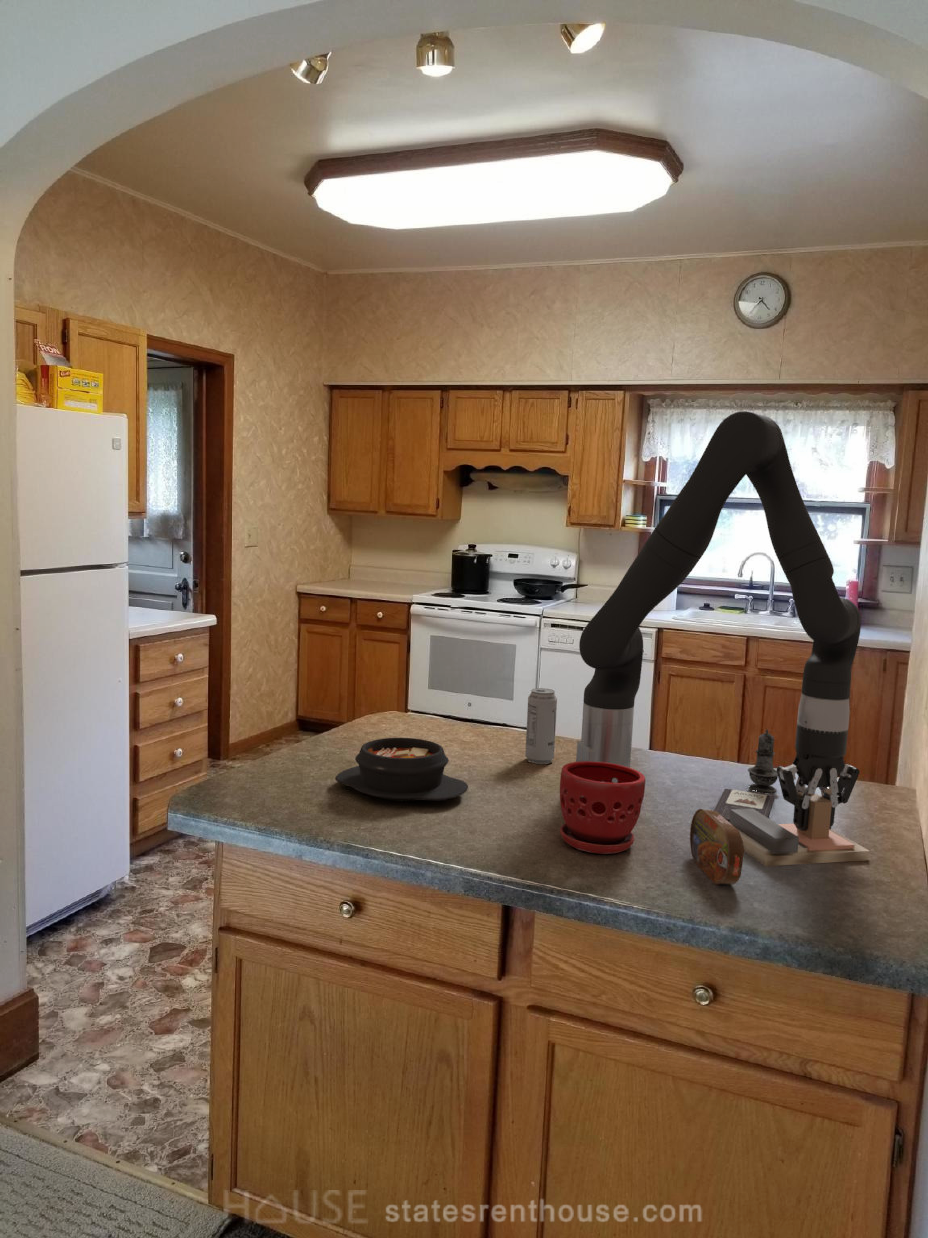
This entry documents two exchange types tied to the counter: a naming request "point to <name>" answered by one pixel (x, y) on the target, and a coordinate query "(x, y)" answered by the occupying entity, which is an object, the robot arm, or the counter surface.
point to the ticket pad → (809, 855)
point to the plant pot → (600, 805)
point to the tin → (716, 847)
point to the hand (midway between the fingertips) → (813, 828)
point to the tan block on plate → (819, 828)
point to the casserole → (402, 771)
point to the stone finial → (764, 766)
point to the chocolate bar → (743, 802)
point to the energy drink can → (541, 726)
